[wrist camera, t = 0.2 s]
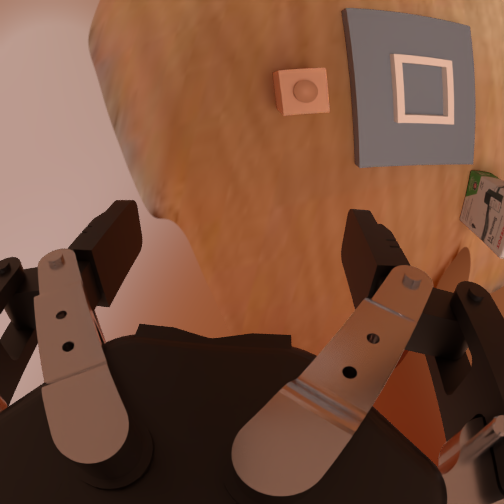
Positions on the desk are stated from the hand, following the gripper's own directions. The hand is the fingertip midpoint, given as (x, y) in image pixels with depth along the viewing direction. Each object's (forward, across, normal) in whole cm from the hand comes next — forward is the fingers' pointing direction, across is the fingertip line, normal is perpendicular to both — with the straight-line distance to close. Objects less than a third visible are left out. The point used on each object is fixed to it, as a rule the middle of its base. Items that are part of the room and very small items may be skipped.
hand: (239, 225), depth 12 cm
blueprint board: (+30, -20, -5) cm, 36 cm away
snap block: (+29, -4, -3) cm, 29 cm away
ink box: (+30, -34, +9) cm, 46 cm away
